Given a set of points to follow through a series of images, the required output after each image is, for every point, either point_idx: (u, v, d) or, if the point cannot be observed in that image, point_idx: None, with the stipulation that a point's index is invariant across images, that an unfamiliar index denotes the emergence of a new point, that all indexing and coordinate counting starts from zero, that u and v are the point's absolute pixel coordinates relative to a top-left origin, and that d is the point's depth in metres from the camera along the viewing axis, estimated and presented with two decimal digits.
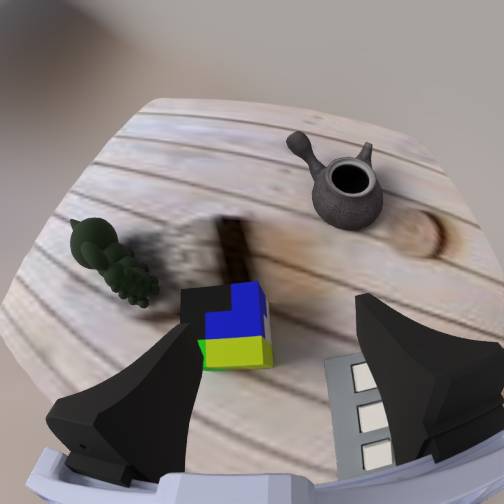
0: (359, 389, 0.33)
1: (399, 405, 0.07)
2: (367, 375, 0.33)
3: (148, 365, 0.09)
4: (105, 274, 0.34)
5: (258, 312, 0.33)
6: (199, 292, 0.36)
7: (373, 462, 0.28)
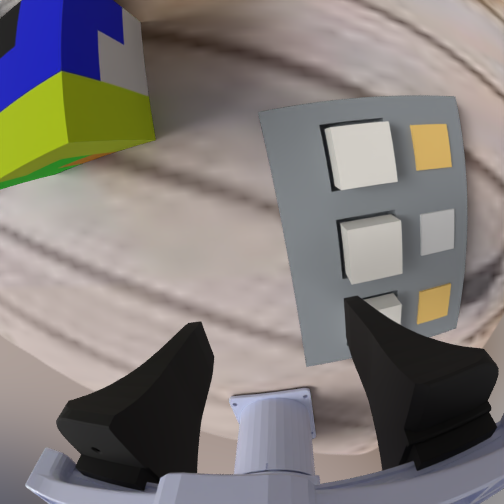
0: (344, 185, 0.15)
1: (383, 409, 0.07)
2: (362, 153, 0.15)
3: (160, 364, 0.09)
4: None
5: (59, 22, 0.07)
6: None
7: None
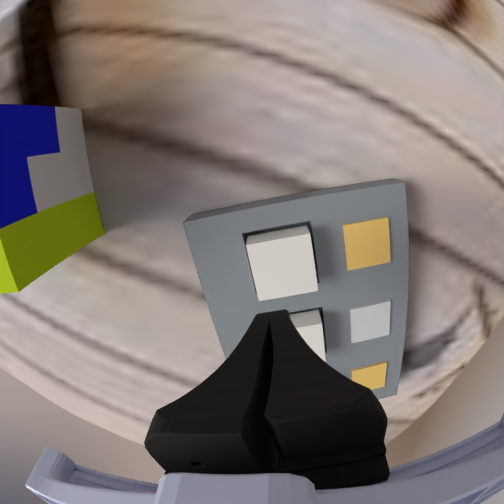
0: (261, 297, 0.17)
1: None
2: (279, 268, 0.17)
3: (250, 357, 0.08)
4: None
5: None
6: None
7: None
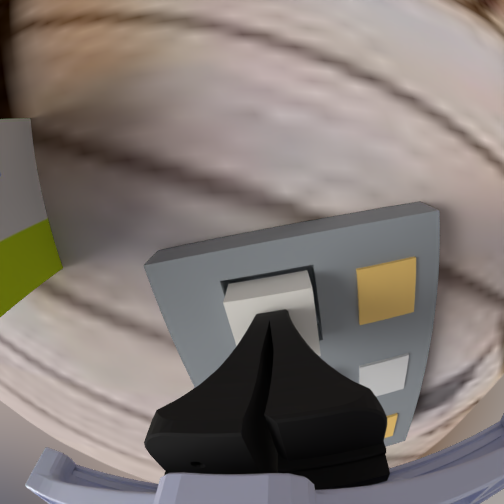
0: None
1: None
2: None
3: (250, 357, 0.08)
4: None
5: None
6: None
7: None
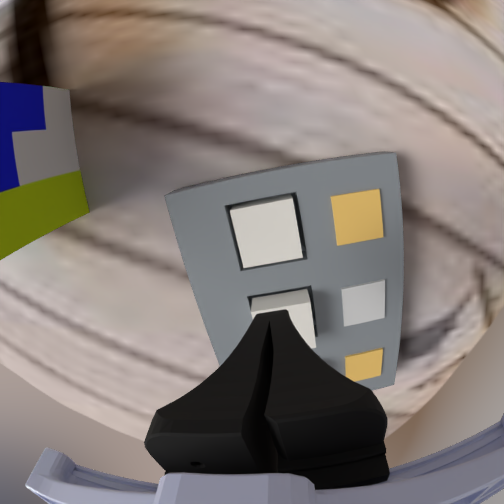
0: (246, 263, 0.18)
1: None
2: (263, 233, 0.17)
3: (250, 357, 0.08)
4: None
5: None
6: None
7: None
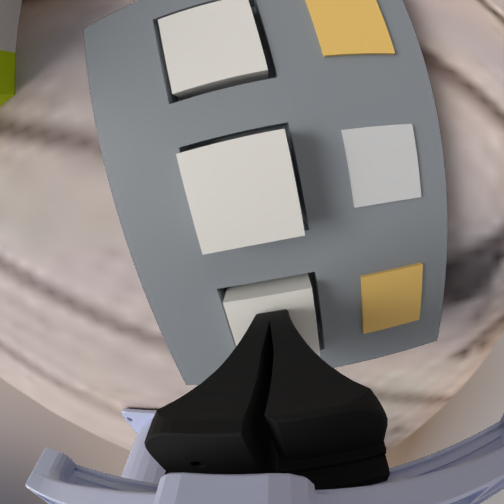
0: (176, 86, 0.09)
1: None
2: (203, 39, 0.08)
3: (250, 357, 0.08)
4: None
5: None
6: None
7: None
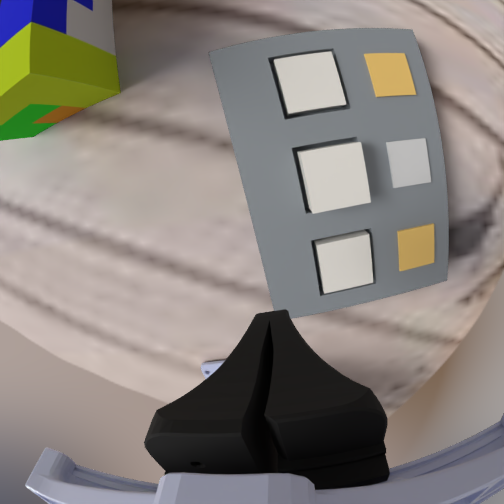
0: (291, 109, 0.15)
1: None
2: (306, 80, 0.15)
3: (250, 357, 0.08)
4: None
5: None
6: None
7: (336, 277, 0.19)
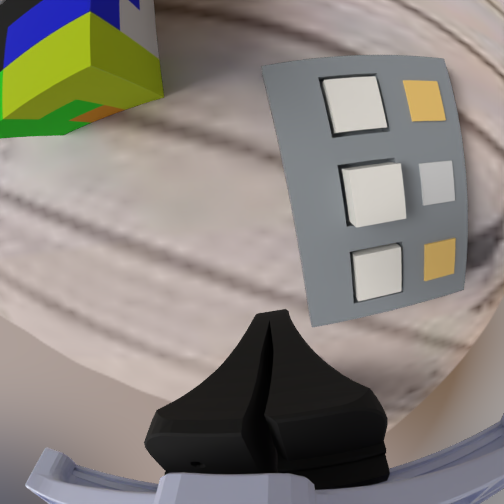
0: (339, 128, 0.17)
1: None
2: (353, 102, 0.16)
3: (250, 357, 0.08)
4: None
5: None
6: (6, 4, 0.07)
7: (370, 286, 0.20)
